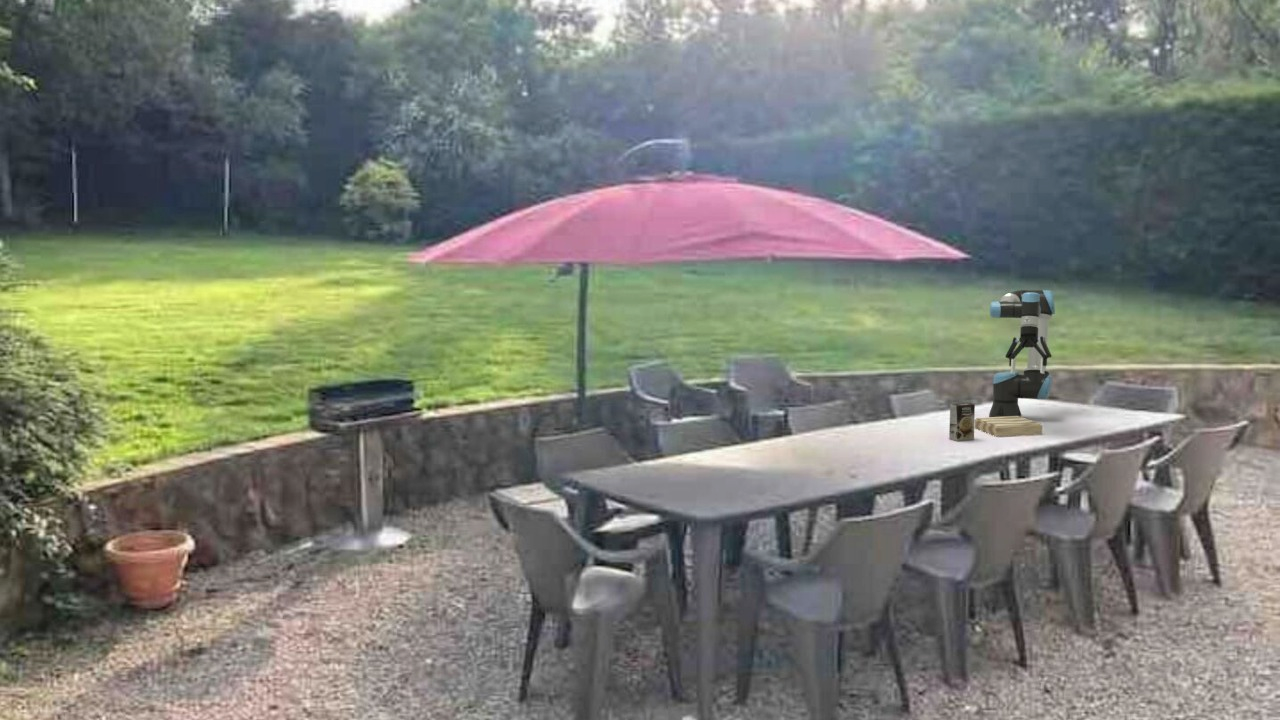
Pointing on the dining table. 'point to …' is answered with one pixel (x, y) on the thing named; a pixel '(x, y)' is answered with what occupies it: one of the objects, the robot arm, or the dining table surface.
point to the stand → (1008, 426)
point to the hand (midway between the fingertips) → (1027, 373)
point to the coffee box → (962, 421)
